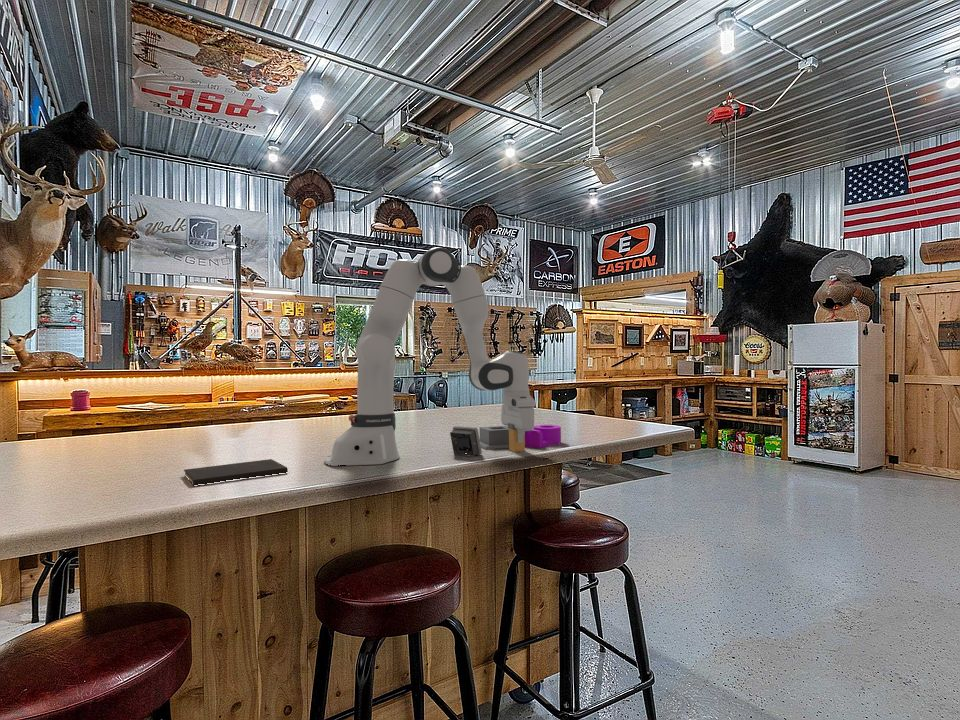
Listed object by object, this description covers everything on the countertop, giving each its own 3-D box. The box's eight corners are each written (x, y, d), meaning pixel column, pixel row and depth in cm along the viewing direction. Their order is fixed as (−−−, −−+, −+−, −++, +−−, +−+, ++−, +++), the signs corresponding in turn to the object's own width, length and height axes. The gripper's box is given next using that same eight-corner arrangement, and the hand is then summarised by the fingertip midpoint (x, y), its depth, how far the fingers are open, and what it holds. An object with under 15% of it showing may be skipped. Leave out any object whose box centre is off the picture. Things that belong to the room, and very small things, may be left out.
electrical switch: (482, 455, 170) (480, 426, 169) (473, 459, 165) (471, 430, 164) (458, 452, 175) (456, 424, 174) (449, 456, 170) (447, 428, 170)
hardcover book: (184, 478, 144) (183, 469, 144) (271, 466, 158) (271, 459, 158) (193, 489, 131) (193, 480, 131) (287, 475, 145) (287, 467, 145)
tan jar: (513, 452, 173) (512, 424, 173) (507, 449, 178) (507, 423, 178) (526, 451, 175) (525, 424, 175) (520, 449, 179) (520, 422, 179)
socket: (485, 449, 179) (485, 431, 179) (472, 443, 192) (472, 426, 192) (523, 446, 184) (523, 429, 184) (508, 440, 197) (508, 424, 197)
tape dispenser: (543, 440, 198) (543, 424, 198) (566, 443, 192) (565, 426, 192) (518, 446, 186) (517, 429, 186) (541, 449, 180) (541, 431, 180)
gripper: (496, 397, 185) (496, 437, 185) (519, 402, 166) (519, 446, 166) (513, 397, 187) (513, 436, 187) (537, 401, 168) (538, 445, 168)
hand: (516, 441), depth 176 cm, fingers closed on tan jar, 4 cm apart
